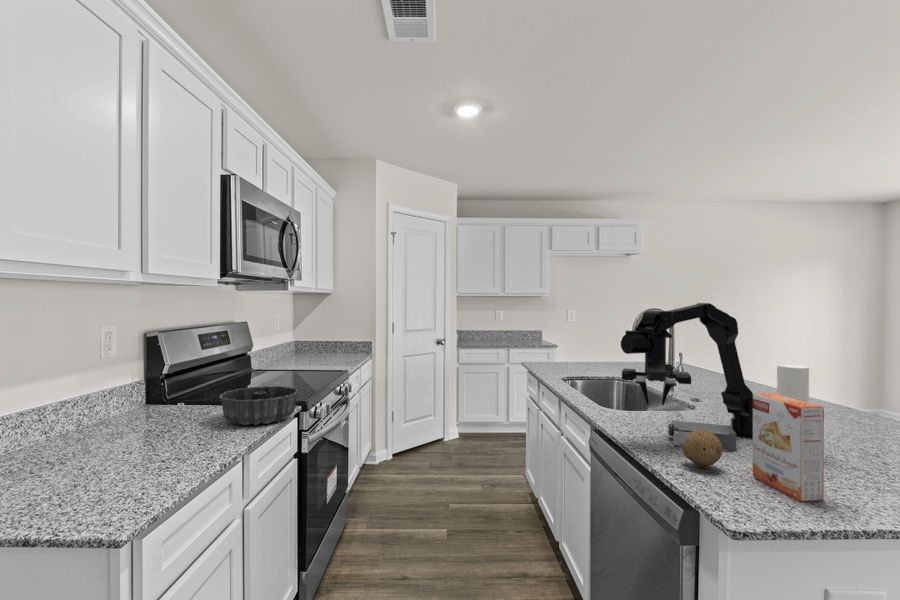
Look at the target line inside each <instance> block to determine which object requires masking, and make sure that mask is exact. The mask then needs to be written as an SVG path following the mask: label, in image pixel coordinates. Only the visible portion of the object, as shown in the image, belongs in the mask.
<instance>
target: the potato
mask: <svg viewBox="0 0 900 600" xmlns="http://www.w3.org/2000/svg"><path fill="white" fill-rule="evenodd" d="M681 451H682V454H683V455H684V457H685V458H686V459H687V460H689V461H690V462H691V463H692V464H693V465H695V466H696V467H699V468H700V469H706V468H709V467H711V466H713V465H714V464H716V463H717V462H718V461H719V460H720V459H721V458H722V456H723V451H722V445H721V443H720V441H719V439H718V438H717V437H716V436H715V435H714V434H713V433H712V432H710V431H707V430H703V429H698V430H695V431H693V432H691V433H690V434H689V435H688V437H687V438H686V440H685V442H684V443H683V446H681Z"/></svg>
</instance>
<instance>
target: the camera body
mask: <svg viewBox="0 0 900 600" xmlns="http://www.w3.org/2000/svg"><path fill="white" fill-rule="evenodd" d="M667 428H668V429H667V430H668V437H672V440H673V442H674V431H687V432H693V431H695V430H698V429H703V430H707V431H710V432H712V433H713V434H714V435H715V436H716V437H717V438H718V439H719V441H720V443H721V445H722V452H727V451H728V452H730V451H729V450H731V451H732V452H737V436H736V433H735V432H734V430H733V429H732V428H731V425H728V424H727V425H726V424H715V423H703V422H695V421H694V422H692V421H684V420H683V421H681V420H671V423H668V427H667ZM677 446H678V447H682V446H683V444H679V445H677Z"/></svg>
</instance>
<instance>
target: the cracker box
mask: <svg viewBox="0 0 900 600" xmlns="http://www.w3.org/2000/svg"><path fill="white" fill-rule="evenodd" d="M824 408H825V407H824V406H822V405H818V404H814V403H812V402H809V403H808V402H804V401H800V400H797V399H793V398H790V397H786V396H782V395H779V394H777V393H775V392H756V393H755V392H754V393H753V437H752V477H753V478H755V479H757V480H759V481H761V482H762V483H765V484H767V485H768V486H770V487H772V488H774V489H776V490H778V491H780V493H783V494H785V495H787V496H789V497H791V498H793V499H794V500H796V501H798V502H800V503H802V502H803V503H804V502H818V501H819V502H820V501H824V495H825V494H824V486H825V485H824V480H825V479H824V478H825V477H824V475H825V474H824V473H825V472H824V471H825V469H824V468H825V467H824V463H825V462H824V460H825V459H824V456H825V452H824V451H825V449H824V447H825V446H824V445H825V443H824V442H825V435H824V434H825V425H824V424H825V409H824Z"/></svg>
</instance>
